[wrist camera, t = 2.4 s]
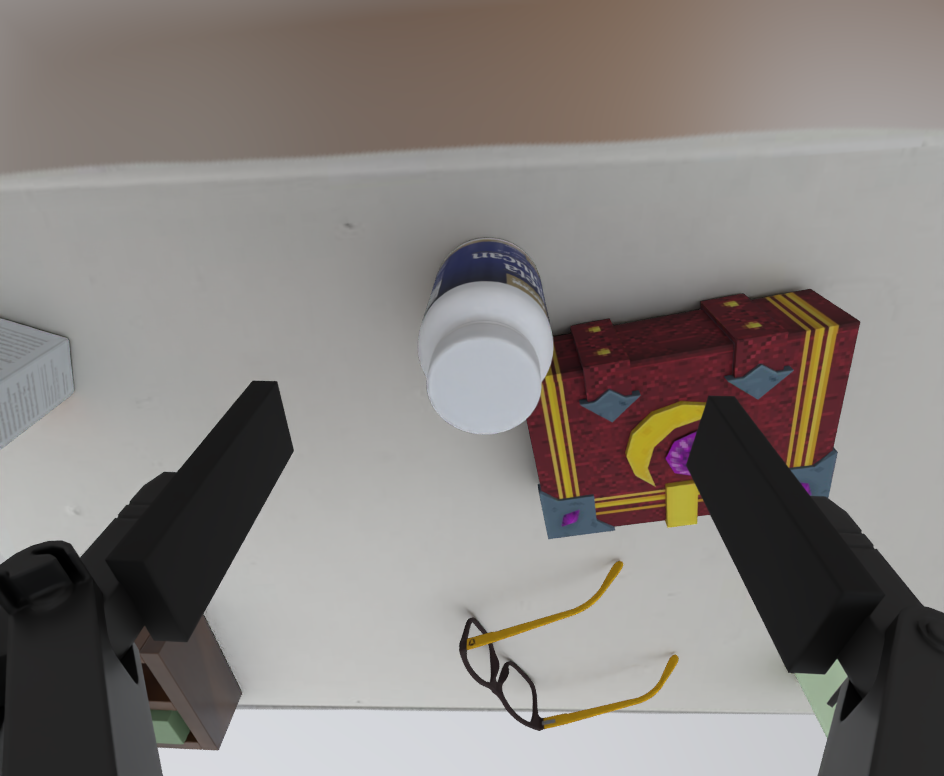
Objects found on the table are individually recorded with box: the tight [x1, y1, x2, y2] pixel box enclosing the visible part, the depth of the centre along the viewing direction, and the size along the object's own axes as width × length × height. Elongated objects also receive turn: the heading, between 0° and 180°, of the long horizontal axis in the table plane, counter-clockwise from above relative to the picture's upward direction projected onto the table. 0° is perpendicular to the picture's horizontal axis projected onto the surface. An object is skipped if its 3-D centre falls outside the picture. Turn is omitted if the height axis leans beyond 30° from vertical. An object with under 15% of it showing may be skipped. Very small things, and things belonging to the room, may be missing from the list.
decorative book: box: [526, 289, 860, 539], centre depth 26 cm, size 11×16×5 cm
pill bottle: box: [418, 238, 553, 434], centre depth 21 cm, size 5×5×10 cm
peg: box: [150, 709, 190, 744], centre depth 44 cm, size 4×4×6 cm
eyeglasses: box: [459, 561, 679, 731], centre depth 39 cm, size 14×14×4 cm
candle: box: [794, 659, 848, 738], centre depth 38 cm, size 5×5×8 cm
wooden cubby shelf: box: [134, 615, 242, 750], centre depth 42 cm, size 9×16×5 cm, turn 179°
